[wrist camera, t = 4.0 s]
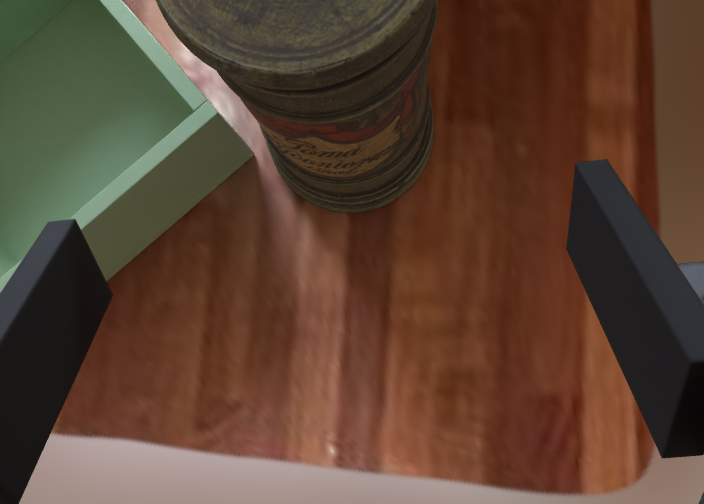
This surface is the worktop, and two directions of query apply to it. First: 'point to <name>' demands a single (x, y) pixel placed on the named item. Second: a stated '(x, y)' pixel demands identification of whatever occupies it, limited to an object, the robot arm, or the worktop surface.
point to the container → (326, 87)
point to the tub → (99, 131)
